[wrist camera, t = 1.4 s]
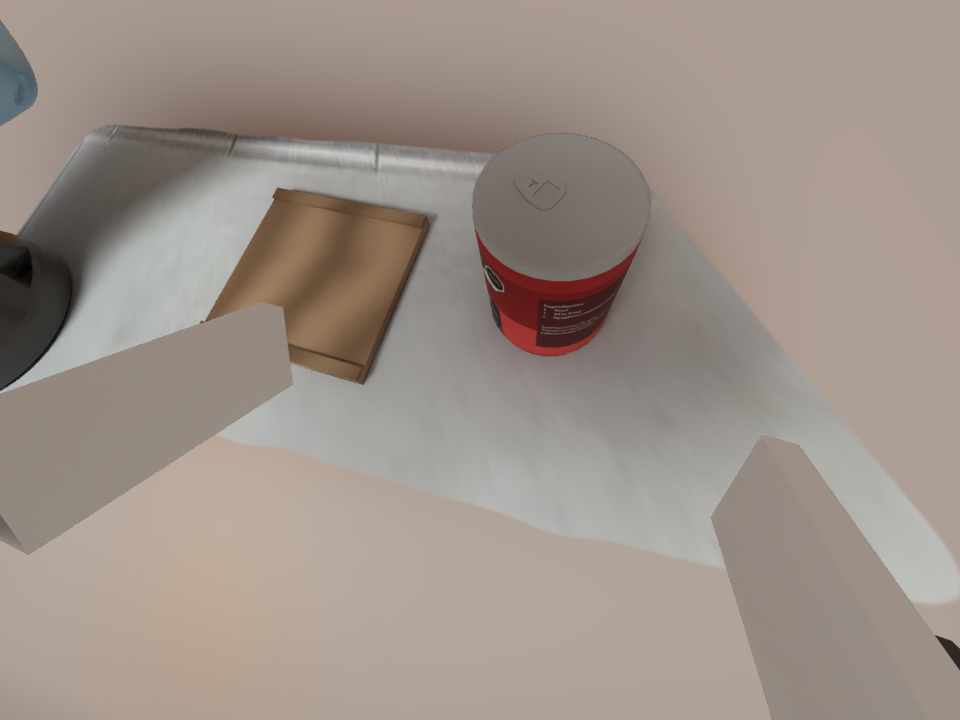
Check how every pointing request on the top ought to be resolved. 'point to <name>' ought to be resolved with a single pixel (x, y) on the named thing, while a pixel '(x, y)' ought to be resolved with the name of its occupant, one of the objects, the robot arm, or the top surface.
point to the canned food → (557, 237)
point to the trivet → (327, 277)
